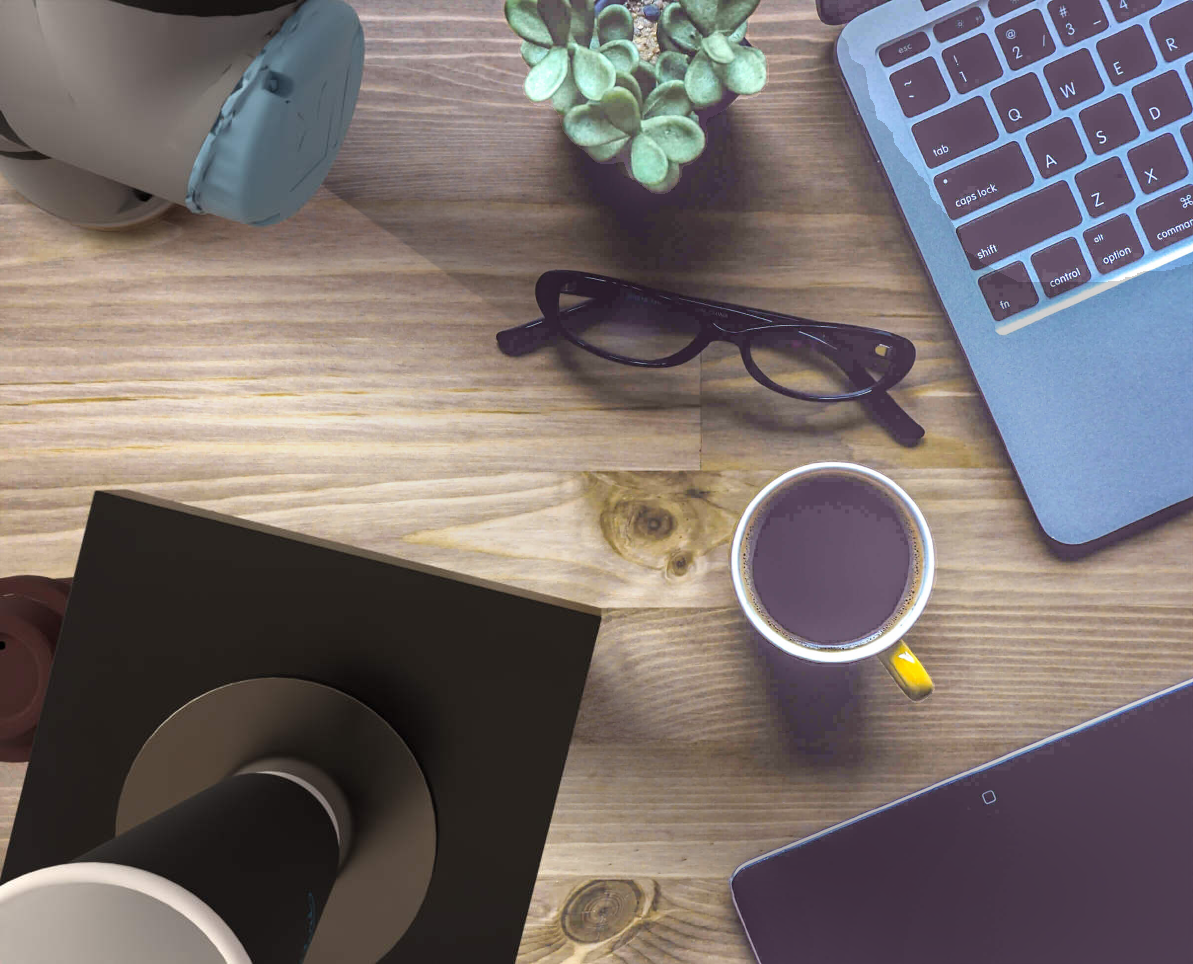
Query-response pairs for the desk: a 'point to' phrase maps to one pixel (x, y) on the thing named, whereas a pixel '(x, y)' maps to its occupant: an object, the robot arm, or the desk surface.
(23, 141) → the robot arm
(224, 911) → the dixie cup
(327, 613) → the stove
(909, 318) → the desk surface
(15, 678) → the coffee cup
